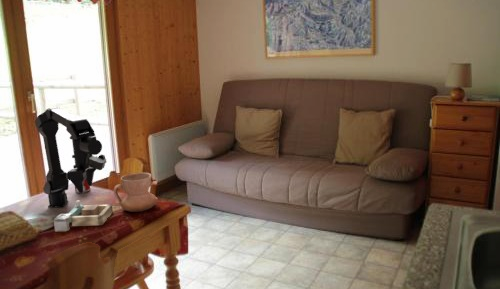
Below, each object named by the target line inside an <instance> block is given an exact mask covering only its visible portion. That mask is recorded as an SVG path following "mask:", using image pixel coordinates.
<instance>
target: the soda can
mask: <svg viewBox="0 0 500 289" xmlns="http://www.w3.org/2000/svg"><path fill="white" fill-rule="evenodd" d="M73 169H77V168H74V167H73ZM90 190H91V186H89V185H88V183H87V181H86V178H85V179H84V187H83V193H82V194H84V193H87V192H89V191H90ZM74 191H75V193H79V191H78V190H77V188H76V187H75V186H74ZM79 194H80V193H79Z"/></svg>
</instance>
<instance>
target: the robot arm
mask: <svg viewBox="0 0 500 289" xmlns="http://www.w3.org/2000/svg"><path fill="white" fill-rule="evenodd" d="M59 124H60V125H62V126H64V127H65V128H66V132H67V133H69V134H70V135H69V136H70V137H69V139H70V140H71V143H72V149H73V150H72V151H73V154H72V155H71V159H73V160H74V165H73V166H72V167H73V168H71V169H70V170H68V171H67V172H66V171H64V169H62V166H61V160H60V154H59V147H58V142H57V141H58V140H57V133H58V130H59ZM34 125H35V127H36V130H37V133H39V134H40V135H41V136H42V138H43V145H44V149H45V156H46V161H47V166H48V171H47V174H46V175H45V181H46V182H45V184H44V186H43V188H42V190H43V192H44V194H45V195H47V197H48V203H49V204H48V206H47V208H63V207H64V206H66V205H67V204H68V203H69V200H68V194H67V193H66V191H69V185H70V182H71V183H72V184H73V185H74V188H75V187H76V188H77V190H78V191H79V194H84V193H83V187H84V179H85V178H86V181H87V183H88V185H89V186H90V187H91V186H92V185H93V181H94V180H93V179H94V175H95V172H96V170H97V171H101V170H103V169H104V168H105V166H106V163H107V158H106V155H105V154H100V153H101V151H102V149H103V143H102V142H101V141H100V140H98V139H97V136H96V133H95V130H94V129H93V126H91V123H90V122H89V120H88V119H87V118H86V117H76V116H73V115H71V114H69V112H66V111H64V110H63V109H62V108H60V107H57V106H56V107H50V108H46V109H45V111H44V112H42V113H41V114H38V116H37V117H36V118H35V119H34ZM96 155H99V156H96ZM74 168H77V169H74ZM69 181H70V182H69Z"/></svg>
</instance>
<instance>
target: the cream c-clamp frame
mask: <svg viewBox="0 0 500 289" xmlns="http://www.w3.org/2000/svg"><path fill="white" fill-rule="evenodd" d="M98 205H99V213H100V214H99V215H90V216H82V215H77V216H72V217H71V226H72V227H87V226H88V227H89V226H103V225H104V224H105V222H106V221H107V220H108V219H109V218H110V217H111V215H112V214H113V213H114V211H113V205H112V203H110V204H98ZM85 206H87V205H86V204H85V205H83V208H84V207H85ZM108 217H109V218H108ZM107 218H108V219H107Z"/></svg>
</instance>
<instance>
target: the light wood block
mask: <svg viewBox="0 0 500 289" xmlns="http://www.w3.org/2000/svg"><path fill="white" fill-rule="evenodd" d="M99 205H100V204H90V205H89V204H88V205H87V206H85V207H84V208H83V209H82V210H81V211H82V215H81V216H90V215H99V214H100V213H99Z"/></svg>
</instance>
